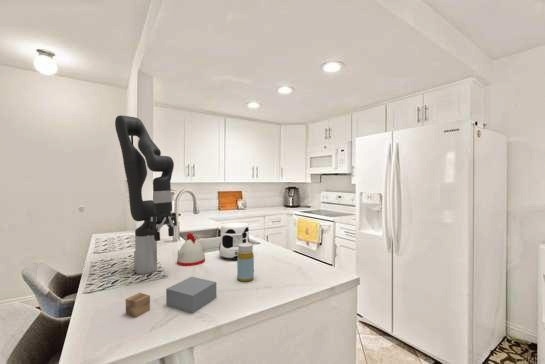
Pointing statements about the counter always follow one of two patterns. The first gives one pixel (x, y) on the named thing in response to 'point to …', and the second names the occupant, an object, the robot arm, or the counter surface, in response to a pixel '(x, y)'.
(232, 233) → the milk container
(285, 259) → the counter surface
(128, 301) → the walnut cube
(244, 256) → the bottle
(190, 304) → the gray square block
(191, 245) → the kitchen timer
